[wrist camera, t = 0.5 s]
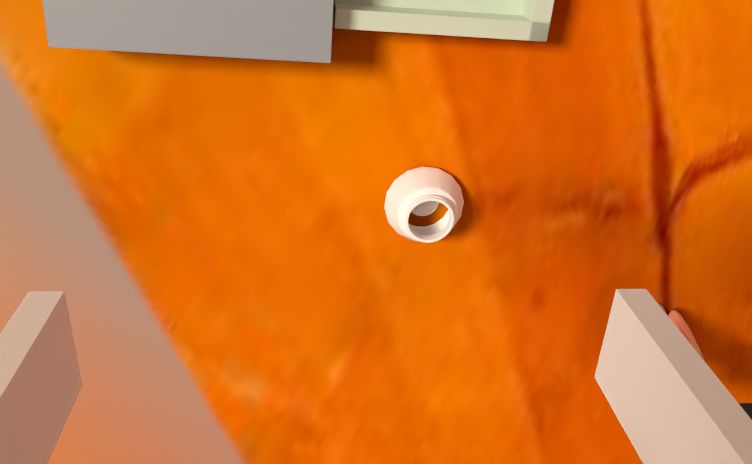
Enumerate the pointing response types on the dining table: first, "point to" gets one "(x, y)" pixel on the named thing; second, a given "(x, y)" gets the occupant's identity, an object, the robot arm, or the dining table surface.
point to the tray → (449, 17)
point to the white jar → (423, 203)
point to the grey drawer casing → (195, 27)
